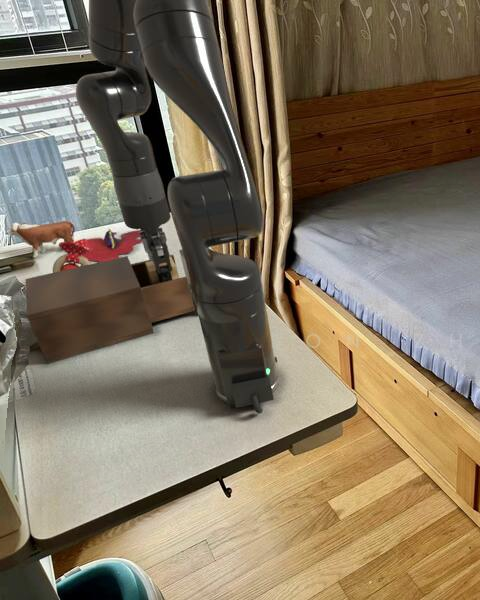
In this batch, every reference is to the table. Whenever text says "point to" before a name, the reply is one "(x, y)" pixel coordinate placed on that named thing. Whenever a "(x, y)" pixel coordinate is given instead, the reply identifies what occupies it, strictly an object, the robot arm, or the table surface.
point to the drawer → (165, 293)
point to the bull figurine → (43, 234)
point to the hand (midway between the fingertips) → (165, 283)
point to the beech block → (153, 274)
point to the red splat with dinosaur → (111, 246)
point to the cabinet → (86, 308)
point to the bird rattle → (72, 255)
